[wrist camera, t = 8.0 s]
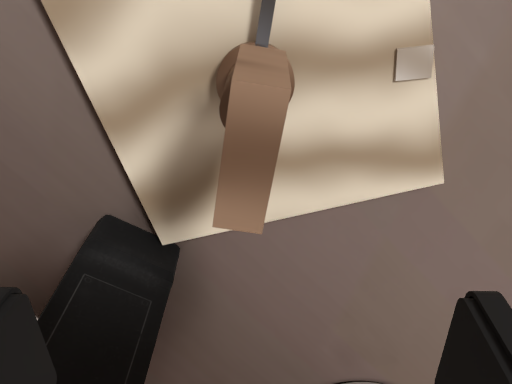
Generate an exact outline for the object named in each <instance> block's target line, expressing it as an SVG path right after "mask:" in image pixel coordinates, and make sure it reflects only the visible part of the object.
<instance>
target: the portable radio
mask: <svg viewBox="0 0 512 384" xmlns="http://www.w3.org/2000/svg"><path fill="white" fill-rule="evenodd" d="M179 250H180V248H179V247H178V246H177V245H176V244H173V243H171V244H167V245H162V243H161V241H160V239H159V237H158V236H156V235H153V234H151V233H149V232H147V231H144V230H142V229H140V228H138V227H136V226H133V225H131V224H129V223H127V222H124V221H122V220H120V219H118V218H116V217H113V216H111V215H105V216H104V217H103V218H101V219H100V220H99V221H98V222H97V224H96V225H95V227H94V228H93V230H92V232H91V233H90V235H89V236H88V238H87V239H86V241H85V242H84V244H83V245H82V247H81V249H80V250H79V252H78V253H77V255H76V257H75V258H74V260H73V262H72V263H71V265H70V267H69V268H68V270H67V272H66V274H65V275H64V277H63V279H62V280H61V282H60V284H59V285H58V287H57V289H56V290H55V292H54V294H53V295H52V297H51V299H50V300H49V302H48V304H47V305H46V307H45V309H44V310H43V312H42V314H41V315H40V317H39V319H38V320H37V322H38V325H39V327H40V330H41V333H42V336H43V338H44V341H45V344H46V347H47V349H48V352H49V355H50V357H51V360H52V363H53V366H54V368H55V371H56V374H57V383H56V384H144V382H145V379H146V375H147V371H148V368H149V364H150V360H151V357H152V353H153V350H154V346H155V342H156V339H157V335H158V331H159V328H160V324H161V321H162V317H163V313H164V310H165V306H166V303H167V299H168V296H169V292H170V289H171V287H172V284H173V280H174V275H175V270H176V265H177V261H178V258H179Z"/></svg>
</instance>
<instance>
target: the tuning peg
mask: <svg viewBox="0 0 512 384" xmlns="http://www.w3.org/2000/svg"><path fill="white" fill-rule="evenodd" d="M275 2H276V0H262V2H261V9H260V15H259V22H258V28H257V35H256V41H252V42H246V43H243V44H242V43H241V44H240V45H238V46H236V47H235V48H233V49H232V50H230V51H229V52H228V53H227V54H226V56H225V57H224V58H223V60H222V62H221V64H220V66H219V69H218V72H217V76H216V88H217V93H218V96H219V98H220V100H221V101H220V106H219V114H220V119H221V122H222V124H223V126H224V127H225V134H224V141H223V149H222V157H221V164H220V172H219V179H218V187H217V194H216V202H215V210H214V217H213V225H212V227H215V228H222V229H229V230H236V231H243V232H250V233H257V234H262V230H263V226H264V221H265V216H266V211H267V206H268V201H269V197H270V192H271V187H272V182H273V177H274V172H275V168H276V163H277V158H278V153H279V148H280V143H281V138H282V134H283V129H284V124H285V119H286V114H287V109H288V105H289V102H290V100H291V98H292V96H293V92H294V87H295V79H294V73H293V69H292V66H291V64H290V62H289V60H288V58H287V55H286V51H283V50H279V49H278V48H276V47H275V46H273V45H271V44H269V38H270V32H271V26H272V20H273V14H274V8H275Z"/></svg>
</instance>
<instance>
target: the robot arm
mask: <svg viewBox="0 0 512 384" xmlns="http://www.w3.org/2000/svg"><path fill="white" fill-rule="evenodd" d="M56 383H57V374H56V371H55V368H54V366H53V363H52V360H51V357H50V355H49V352H48V349H47V347H46V344H45V341H44V338H43V336H42V333H41V330H40V327H39V325H38V322H37V319H36V317H35V314H34V311H33V308H32V306H31V303H30V300H29V298H28V296H27V295H25V294H22V292H21V290H20V289H18V288H15V287H0V384H56ZM342 384H380V383H372V382H350V383H342ZM435 384H512V309H511V307H510V306H509V304H508V303H507V301H506V300H505V298H504V297H503V296H502V294H501V293H499V292H497V291H469V292H468V293H467V294H466V296H465V298H459V299H458V301H457V304H456V307H455V311H454V314H453V318H452V321H451V325H450V328H449V332H448V336H447V339H446V343H445V346H444V350H443V353H442V357H441V360H440V364H439V367H438V371H437V375H436V378H435Z"/></svg>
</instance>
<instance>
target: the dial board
mask: <svg viewBox="0 0 512 384" xmlns="http://www.w3.org/2000/svg"><path fill="white" fill-rule="evenodd" d="M41 2H42V4H43V6H44V8H45V10H46V12H47V14H48V16H49V18H50V20H51V22H52V24H53V26H54V28H55V30H56V32H57V34H58V36H59V38H60V40H61V42H62V44H63V46H64V48H65V50H66V52H67V54H68V56H69V58H70V60H71V62H72V64H73V66H74V68H75V70H76V72H77V74H78V76H79V78H80V80H81V82H82V84H83V86H84V88H85V90H86V92H87V94H88V96H89V98H90V100H91V102H92V104H93V106H94V108H95V110H96V112H97V114H98V116H99V119H100V121H101V123H102V125H103V127H104V129H105V131H106V133H107V135H108V137H109V139H110V141H111V143H112V145H113V147H114V149H115V151H116V153H117V155H118V157H119V159H120V161H121V163H122V165H123V167H124V169H125V171H126V173H127V175H128V177H129V179H130V181H131V183H132V185H133V187H134V189H135V191H136V193H137V195H138V197H139V199H140V201H141V203H142V205H143V207H144V209H145V211H146V213H147V215H148V217H149V219H150V221H151V223H152V225H153V227H154V229H155V231H156V233H157V235H158V237H159V239H160V241H161V243H162V245H167V244H171V243H176V242H180V241H185V240H189V239H194V238H198V237H203V236H207V235H212V234H216V233H221V232H225V231H230V230H229V229H222V228H215V227H212V225H213V217H214V210H215V202H216V194H217V187H218V179H219V172H220V164H221V157H222V149H223V141H224V134H225V127H224V126H223V124H222V122H221V119H220V114H219V106H220V101H221V100H220V98H219V96H218V93H217V88H216V76H217V72H218V69H219V66H220V64H221V62H222V60H223V58H224V57H225V56H226V54H227V53H228V52H229V51H230V50H232V49H233V48H235V47H236V46H238V45H240V44H241V43H242V44H243V43H246V42H252V41H256V35H257V28H258V22H259V15H260V9H261V2H262V0H41ZM269 44H271V45H273V46H275V47H276V48H278V49H279V50H283V51H286V55H287V58H288V60H289V62H290V64H291V66H292V69H293V73H294V79H295V87H294V92H293V96H292V98H291V100H290V102H289V105H288V109H287V114H286V119H285V124H284V129H283V134H282V138H281V143H280V148H279V153H278V158H277V163H276V168H275V172H274V177H273V182H272V187H271V192H270V197H269V201H268V206H267V211H266V216H265V221H264V223H266V222H270V221H275V220H279V219H284V218H288V217H293V216H297V215H302V214H306V213H311V212H316V211H320V210H325V209H329V208H334V207H338V206H343V205H347V204H352V203H356V202H361V201H365V200H370V199H374V198H379V197H383V196H388V195H392V194H397V193H401V192H406V191H410V190H415V189H419V188H424V187H428V186H433V185H437V184H442V183H444V177H443V164H442V151H441V138H440V125H439V113H438V100H437V87H436V74H435V61H434V45H433V35H432V22H431V9H430V0H276V2H275V8H274V14H273V20H272V26H271V32H270V38H269Z"/></svg>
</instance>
